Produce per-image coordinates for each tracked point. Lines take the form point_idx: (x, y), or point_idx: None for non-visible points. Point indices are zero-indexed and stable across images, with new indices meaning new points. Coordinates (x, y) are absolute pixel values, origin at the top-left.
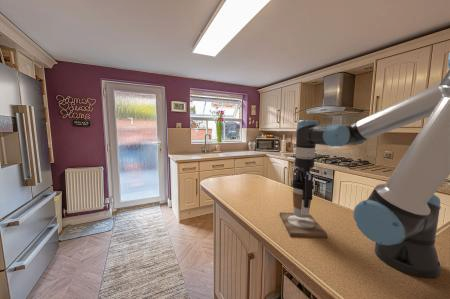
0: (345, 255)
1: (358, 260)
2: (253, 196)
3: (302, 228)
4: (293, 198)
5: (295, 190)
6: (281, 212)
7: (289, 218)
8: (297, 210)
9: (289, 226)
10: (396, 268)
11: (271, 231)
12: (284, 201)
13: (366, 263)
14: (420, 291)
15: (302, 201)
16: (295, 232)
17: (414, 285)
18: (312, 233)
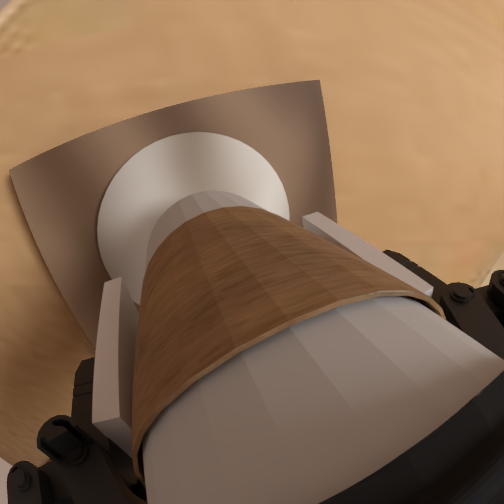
0: (18, 387)
1: (20, 409)
2: (475, 3)
3: (97, 245)
4: (237, 245)
5: (224, 447)
6: (320, 92)
7: (216, 147)
8: (152, 248)
9: (86, 154)
10: (51, 460)
11: (37, 44)
12: (467, 147)
13: (22, 421)
14: (8, 460)
15: (94, 392)
16: (22, 204)
17: (18, 460)
18: (65, 301)
